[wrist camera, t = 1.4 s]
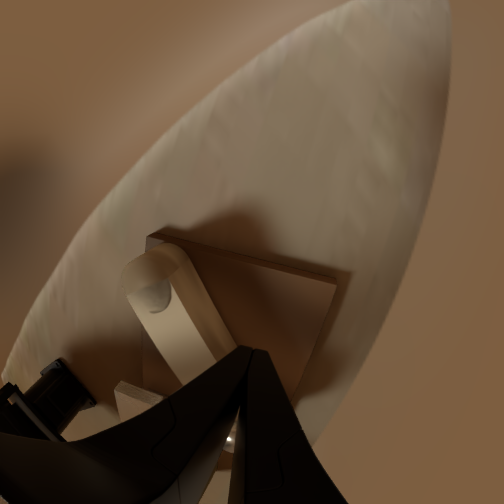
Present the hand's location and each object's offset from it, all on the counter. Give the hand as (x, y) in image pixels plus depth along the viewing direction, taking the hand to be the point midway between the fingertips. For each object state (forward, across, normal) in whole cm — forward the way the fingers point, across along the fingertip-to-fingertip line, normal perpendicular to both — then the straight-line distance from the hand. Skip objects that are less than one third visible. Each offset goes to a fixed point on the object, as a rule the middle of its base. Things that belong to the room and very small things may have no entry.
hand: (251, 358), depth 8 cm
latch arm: (+8, +3, +6) cm, 10 cm away
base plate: (+9, +3, +9) cm, 13 cm away
